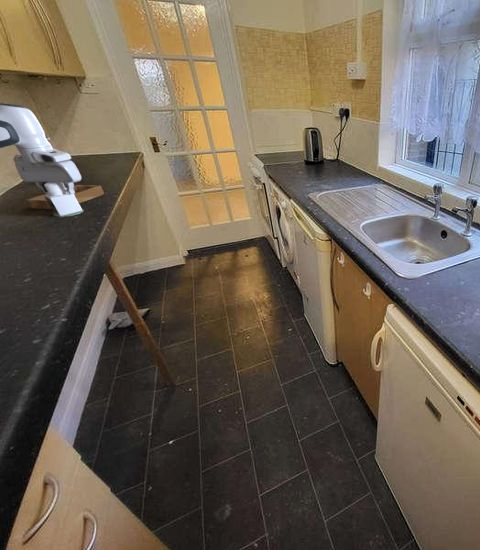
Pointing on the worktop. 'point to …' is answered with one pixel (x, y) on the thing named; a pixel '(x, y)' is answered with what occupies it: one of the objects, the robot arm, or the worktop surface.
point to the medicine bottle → (60, 198)
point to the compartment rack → (80, 193)
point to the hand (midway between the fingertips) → (60, 193)
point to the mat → (68, 214)
